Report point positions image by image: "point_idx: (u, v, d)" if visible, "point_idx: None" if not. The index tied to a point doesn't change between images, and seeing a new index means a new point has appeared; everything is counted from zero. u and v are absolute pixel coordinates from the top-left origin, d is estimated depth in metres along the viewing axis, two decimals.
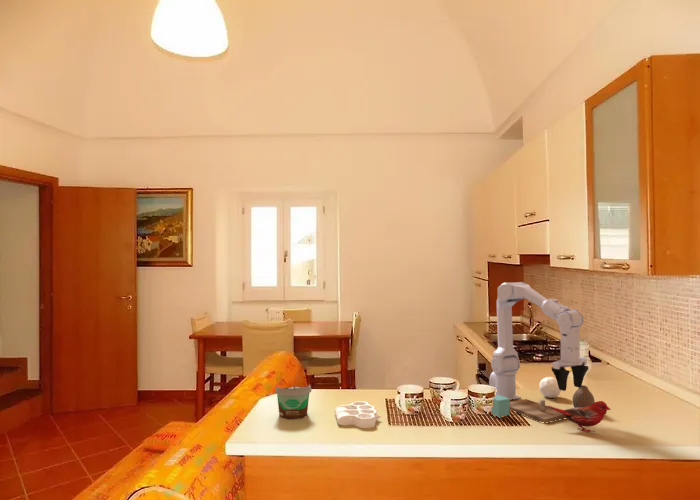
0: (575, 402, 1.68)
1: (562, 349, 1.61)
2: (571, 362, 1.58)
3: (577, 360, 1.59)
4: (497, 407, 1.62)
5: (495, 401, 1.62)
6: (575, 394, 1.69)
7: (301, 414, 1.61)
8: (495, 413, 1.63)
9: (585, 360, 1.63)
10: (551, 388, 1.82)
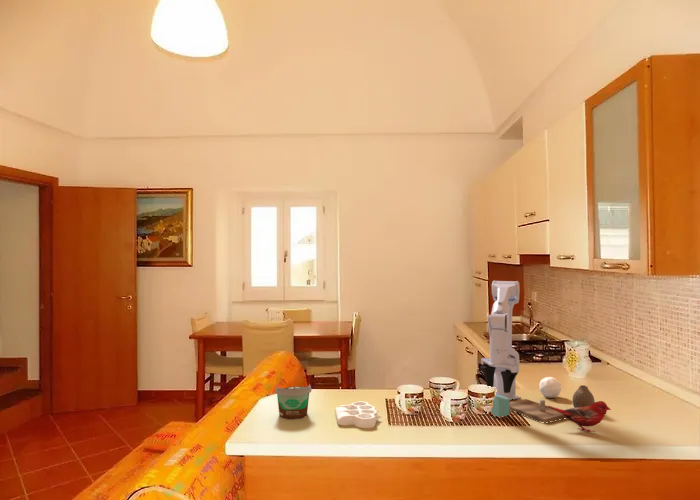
0: (575, 402, 1.68)
1: None
2: (489, 361, 1.66)
3: (492, 361, 1.63)
4: (497, 407, 1.62)
5: (495, 401, 1.62)
6: (575, 394, 1.69)
7: (301, 414, 1.61)
8: (495, 413, 1.63)
9: (510, 367, 1.59)
10: (551, 388, 1.82)
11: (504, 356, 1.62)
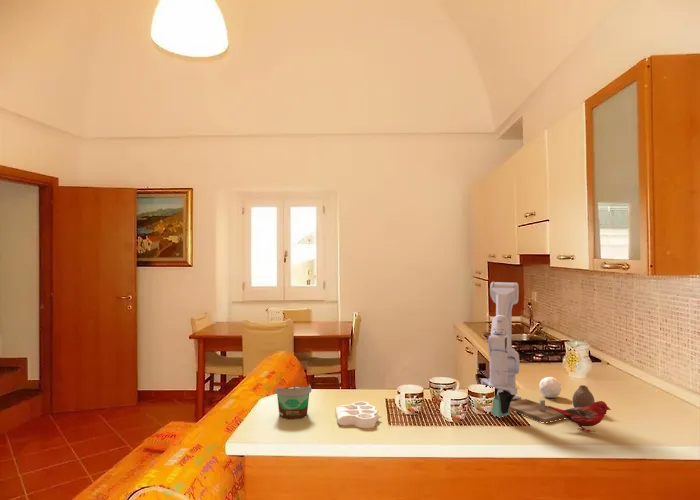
0: (575, 402, 1.68)
1: None
2: (489, 382, 1.66)
3: (492, 382, 1.63)
4: (497, 407, 1.62)
5: (495, 401, 1.62)
6: (575, 394, 1.69)
7: (301, 414, 1.61)
8: (495, 413, 1.63)
9: (510, 389, 1.59)
10: (551, 388, 1.82)
11: (504, 378, 1.62)
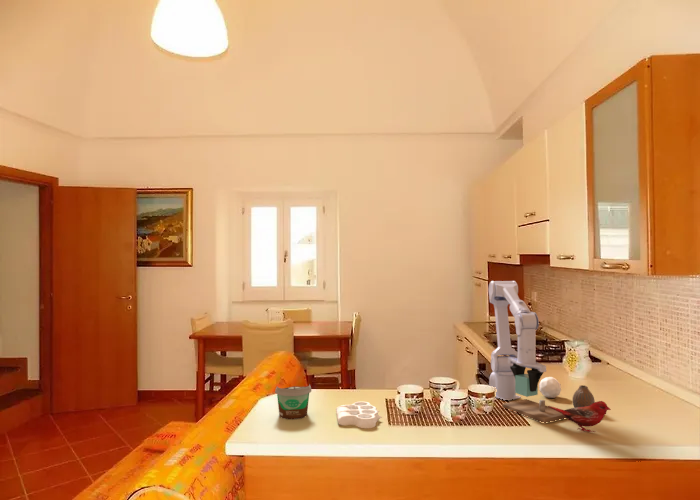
0: (575, 402, 1.68)
1: None
2: (516, 361, 1.66)
3: (520, 360, 1.64)
4: (525, 385, 1.62)
5: (523, 379, 1.63)
6: (575, 394, 1.69)
7: (301, 414, 1.61)
8: (523, 391, 1.63)
9: (539, 367, 1.59)
10: (551, 388, 1.82)
11: (532, 356, 1.62)
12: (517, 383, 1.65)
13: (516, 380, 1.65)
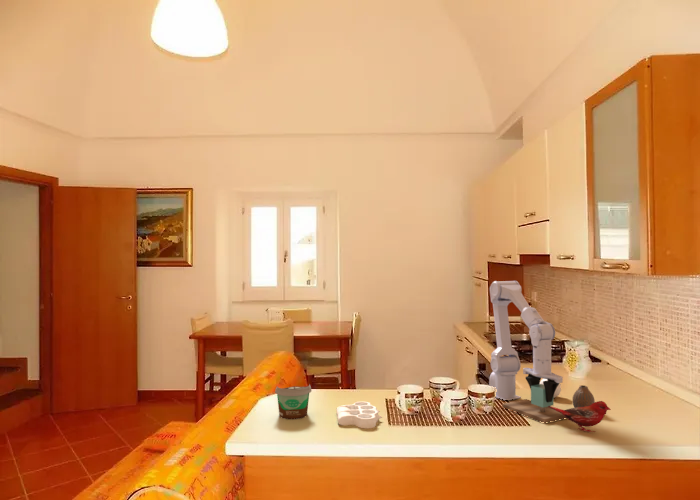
0: (575, 402, 1.68)
1: None
2: (532, 371, 1.66)
3: (536, 371, 1.64)
4: (541, 396, 1.62)
5: (539, 390, 1.63)
6: (575, 394, 1.69)
7: (301, 414, 1.61)
8: (539, 401, 1.63)
9: (556, 378, 1.59)
10: None
11: (548, 366, 1.62)
12: (533, 394, 1.65)
13: (532, 391, 1.65)
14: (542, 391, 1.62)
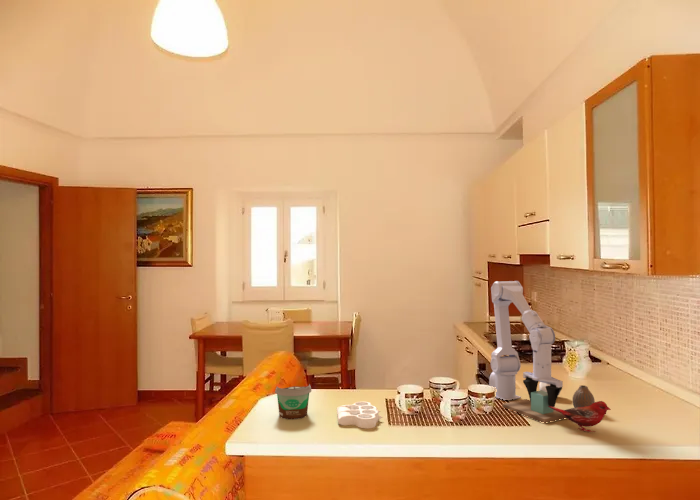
0: (575, 402, 1.68)
1: None
2: (532, 375, 1.66)
3: (536, 375, 1.64)
4: (541, 402, 1.62)
5: (539, 396, 1.63)
6: (575, 394, 1.69)
7: (301, 414, 1.61)
8: (539, 408, 1.63)
9: (556, 382, 1.59)
10: None
11: (548, 371, 1.62)
12: (533, 400, 1.65)
13: (532, 397, 1.65)
14: (542, 398, 1.62)
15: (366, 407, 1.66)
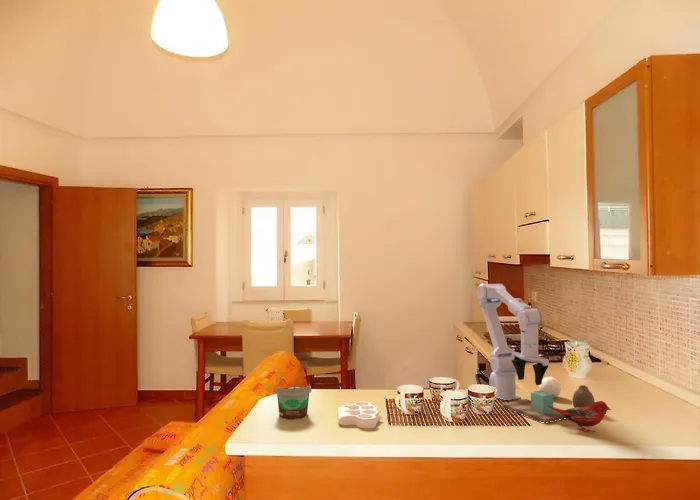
0: (575, 402, 1.68)
1: None
2: (520, 355, 1.73)
3: (523, 354, 1.71)
4: (541, 402, 1.62)
5: (539, 396, 1.63)
6: (575, 394, 1.69)
7: (301, 414, 1.61)
8: (539, 408, 1.63)
9: (542, 360, 1.66)
10: (551, 388, 1.82)
11: (535, 350, 1.69)
12: (533, 400, 1.65)
13: (532, 397, 1.65)
14: (542, 398, 1.62)
15: (366, 407, 1.66)
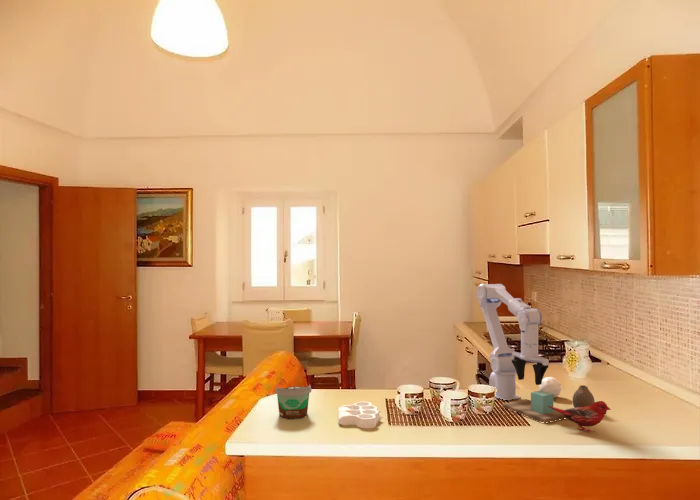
0: (575, 402, 1.68)
1: None
2: (520, 355, 1.73)
3: (523, 354, 1.71)
4: (541, 402, 1.62)
5: (539, 396, 1.63)
6: (575, 394, 1.69)
7: (301, 414, 1.61)
8: (539, 408, 1.63)
9: (542, 360, 1.66)
10: (551, 388, 1.82)
11: (535, 350, 1.69)
12: (533, 400, 1.65)
13: (532, 397, 1.65)
14: (542, 398, 1.62)
15: (367, 407, 1.66)
